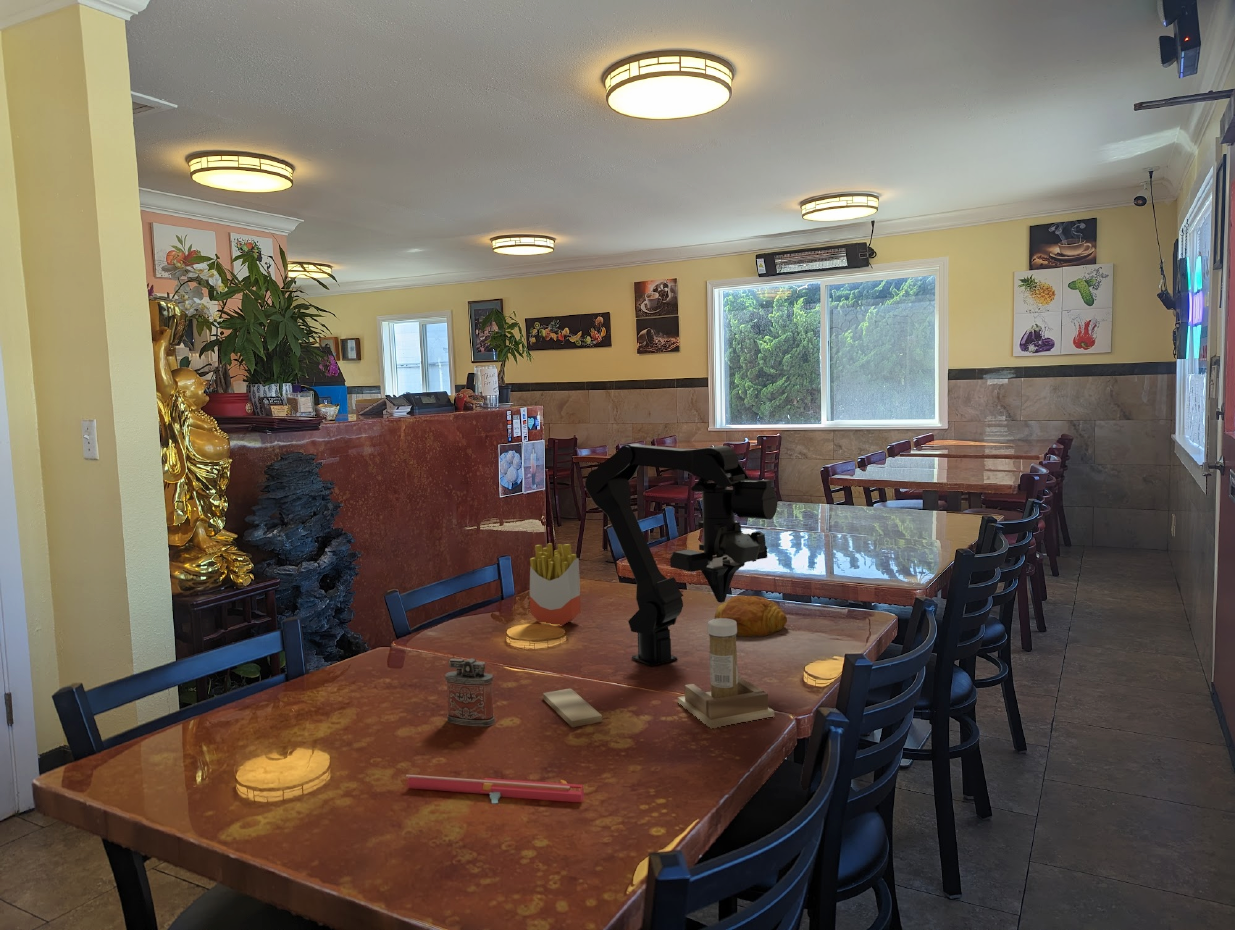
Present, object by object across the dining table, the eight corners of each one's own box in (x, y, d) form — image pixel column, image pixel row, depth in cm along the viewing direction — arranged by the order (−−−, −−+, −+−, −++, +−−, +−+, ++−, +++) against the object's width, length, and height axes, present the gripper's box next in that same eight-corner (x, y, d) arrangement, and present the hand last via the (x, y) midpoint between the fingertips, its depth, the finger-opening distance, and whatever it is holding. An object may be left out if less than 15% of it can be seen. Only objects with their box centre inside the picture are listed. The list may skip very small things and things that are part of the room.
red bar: (578, 817, 103) (587, 789, 107) (576, 804, 102) (585, 776, 107) (400, 803, 108) (415, 777, 113) (397, 790, 108) (412, 764, 112)
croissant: (734, 626, 191) (729, 591, 191) (796, 626, 181) (791, 589, 181) (701, 640, 179) (696, 603, 179) (766, 640, 170) (760, 601, 170)
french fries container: (571, 628, 185) (568, 547, 184) (529, 623, 190) (526, 545, 189) (581, 622, 189) (578, 544, 188) (540, 618, 194) (537, 542, 193)
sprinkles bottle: (743, 701, 134) (741, 619, 133) (730, 710, 131) (728, 626, 130) (718, 696, 137) (716, 616, 136) (704, 705, 133) (702, 622, 132)
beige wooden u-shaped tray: (677, 703, 137) (677, 682, 137) (737, 692, 141) (736, 672, 141) (711, 729, 126) (710, 706, 126) (774, 717, 130) (774, 695, 130)
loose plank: (543, 701, 142) (542, 693, 142) (570, 696, 144) (570, 688, 144) (572, 730, 129) (571, 721, 129) (602, 724, 131) (601, 715, 131)
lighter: (498, 719, 133) (495, 658, 132) (488, 727, 130) (485, 664, 129) (454, 714, 136) (451, 654, 135) (443, 722, 132) (440, 661, 132)
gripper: (708, 527, 138) (711, 619, 139) (788, 515, 148) (790, 601, 150) (667, 520, 147) (669, 607, 148) (745, 509, 158) (747, 591, 159)
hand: (721, 602), depth 151 cm, fingers closed
